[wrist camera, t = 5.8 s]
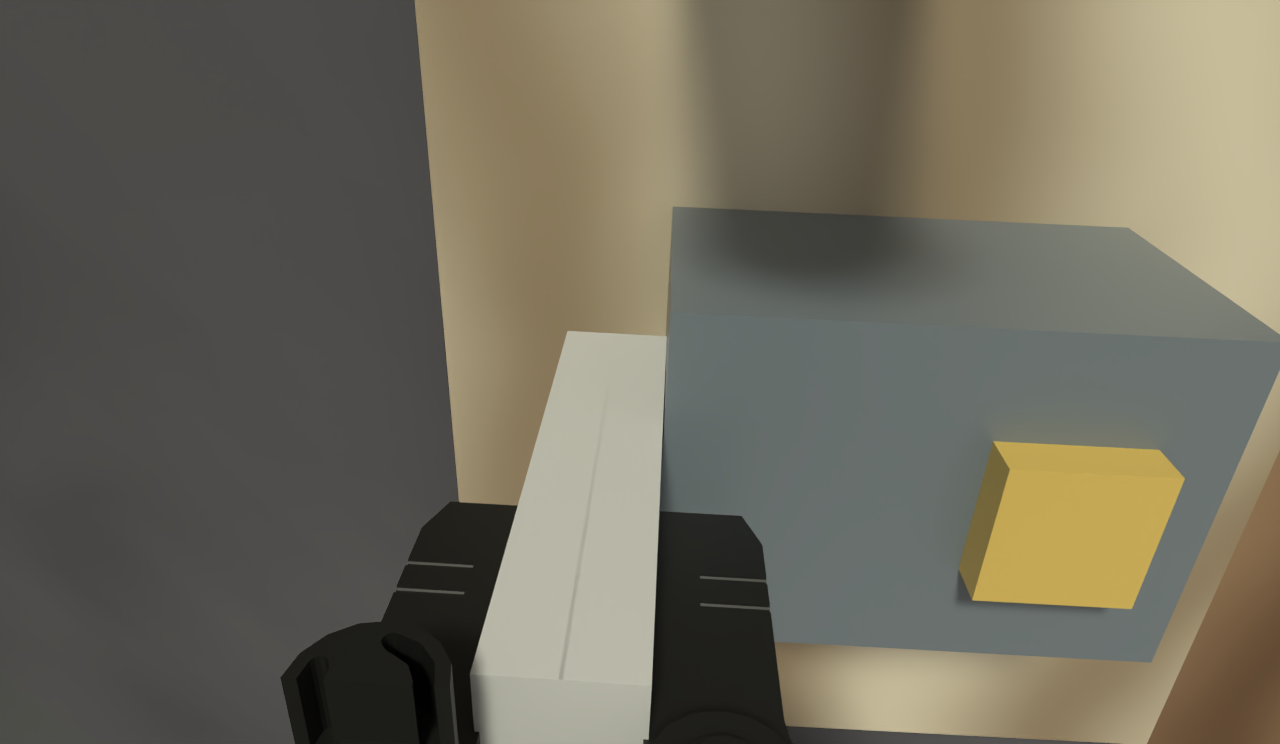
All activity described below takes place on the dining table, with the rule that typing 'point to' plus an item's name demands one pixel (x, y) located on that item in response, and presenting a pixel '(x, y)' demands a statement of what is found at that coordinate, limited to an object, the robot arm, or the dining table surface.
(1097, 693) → the board
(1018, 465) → the block
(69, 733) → the dining table surface
